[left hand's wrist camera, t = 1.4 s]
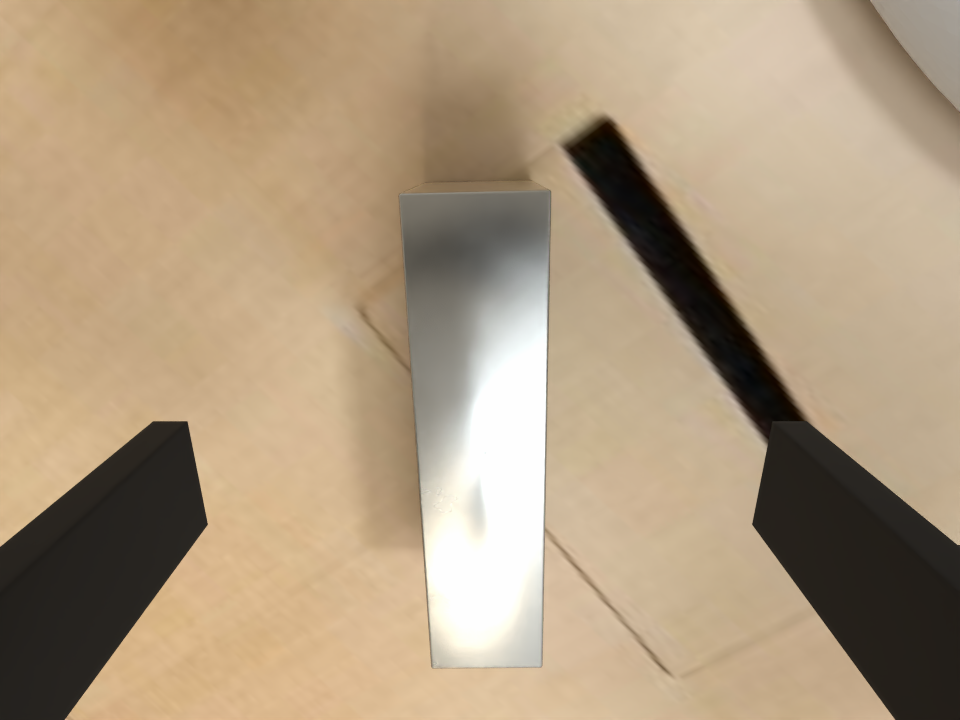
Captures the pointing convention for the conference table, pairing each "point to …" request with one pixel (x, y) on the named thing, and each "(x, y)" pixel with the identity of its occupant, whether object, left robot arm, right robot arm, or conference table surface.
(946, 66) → the projector
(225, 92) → the conference table surface
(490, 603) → the bar
